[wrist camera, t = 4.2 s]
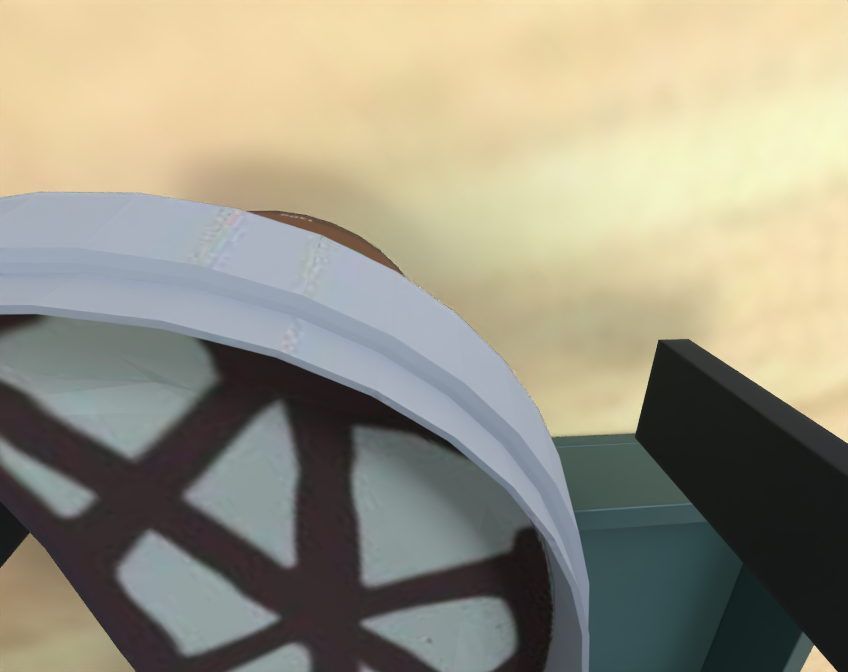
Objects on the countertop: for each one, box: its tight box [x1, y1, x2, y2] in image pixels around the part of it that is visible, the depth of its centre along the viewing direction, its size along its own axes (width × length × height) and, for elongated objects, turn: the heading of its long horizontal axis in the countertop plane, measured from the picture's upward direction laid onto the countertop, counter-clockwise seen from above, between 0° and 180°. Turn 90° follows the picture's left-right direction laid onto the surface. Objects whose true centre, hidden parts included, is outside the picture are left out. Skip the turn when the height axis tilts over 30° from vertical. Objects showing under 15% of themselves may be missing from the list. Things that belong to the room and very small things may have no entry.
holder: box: [551, 434, 814, 672], centre depth 19 cm, size 13×18×4 cm
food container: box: [0, 192, 590, 672], centre depth 10 cm, size 12×6×10 cm, turn 21°
